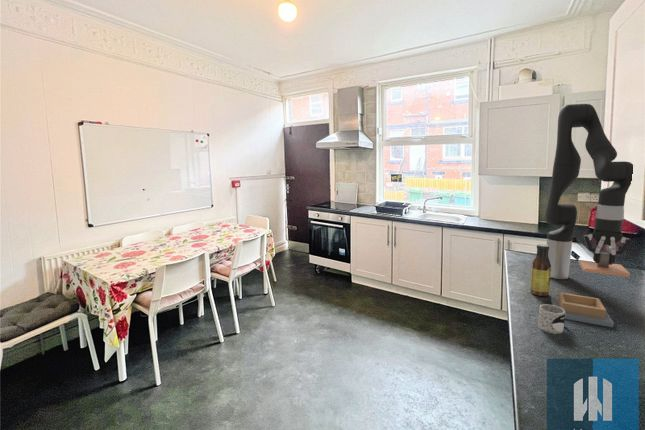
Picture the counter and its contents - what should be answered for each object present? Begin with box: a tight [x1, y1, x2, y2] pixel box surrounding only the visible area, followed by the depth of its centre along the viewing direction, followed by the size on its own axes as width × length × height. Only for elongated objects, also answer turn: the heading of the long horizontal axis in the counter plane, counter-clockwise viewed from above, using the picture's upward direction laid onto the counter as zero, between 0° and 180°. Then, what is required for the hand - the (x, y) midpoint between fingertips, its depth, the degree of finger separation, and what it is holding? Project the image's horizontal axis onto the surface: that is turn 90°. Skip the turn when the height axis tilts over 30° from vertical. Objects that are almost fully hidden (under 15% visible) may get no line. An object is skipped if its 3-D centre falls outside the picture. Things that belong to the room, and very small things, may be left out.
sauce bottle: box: [530, 243, 551, 297], centre depth 128 cm, size 7×6×20 cm
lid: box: [578, 251, 631, 278], centre depth 120 cm, size 12×12×6 cm
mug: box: [537, 304, 566, 335], centre depth 104 cm, size 10×7×7 cm, turn 117°
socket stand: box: [550, 291, 615, 328], centre depth 113 cm, size 15×15×4 cm
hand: (603, 263), depth 120 cm, fingers closed on lid, 3 cm apart
